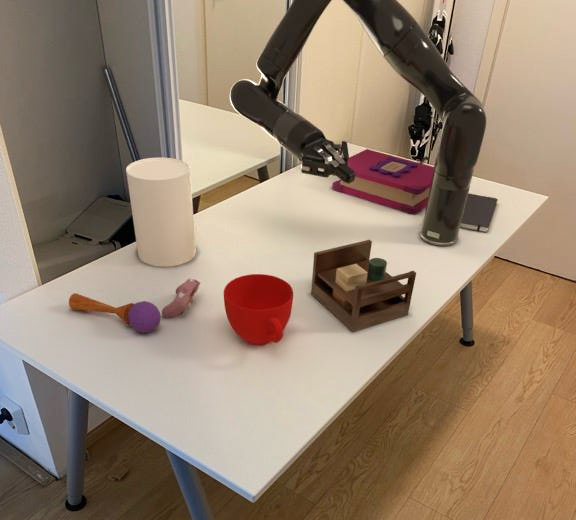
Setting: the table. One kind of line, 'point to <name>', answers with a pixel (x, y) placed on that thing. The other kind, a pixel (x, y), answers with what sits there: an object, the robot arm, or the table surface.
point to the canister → (162, 210)
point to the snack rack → (359, 286)
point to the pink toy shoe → (181, 298)
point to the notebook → (478, 212)
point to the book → (388, 181)
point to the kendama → (122, 311)
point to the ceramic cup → (258, 307)
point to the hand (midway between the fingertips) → (352, 178)
